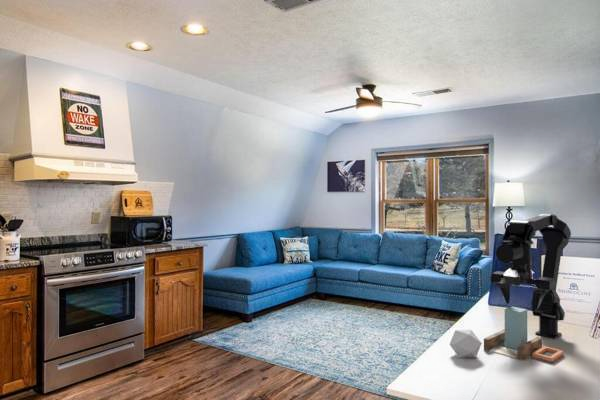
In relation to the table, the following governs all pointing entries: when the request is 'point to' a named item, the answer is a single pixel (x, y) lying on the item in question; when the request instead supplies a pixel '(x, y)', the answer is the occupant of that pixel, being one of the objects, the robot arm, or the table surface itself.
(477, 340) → the die
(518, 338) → the block
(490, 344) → the channel
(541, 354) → the frame
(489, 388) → the table surface
